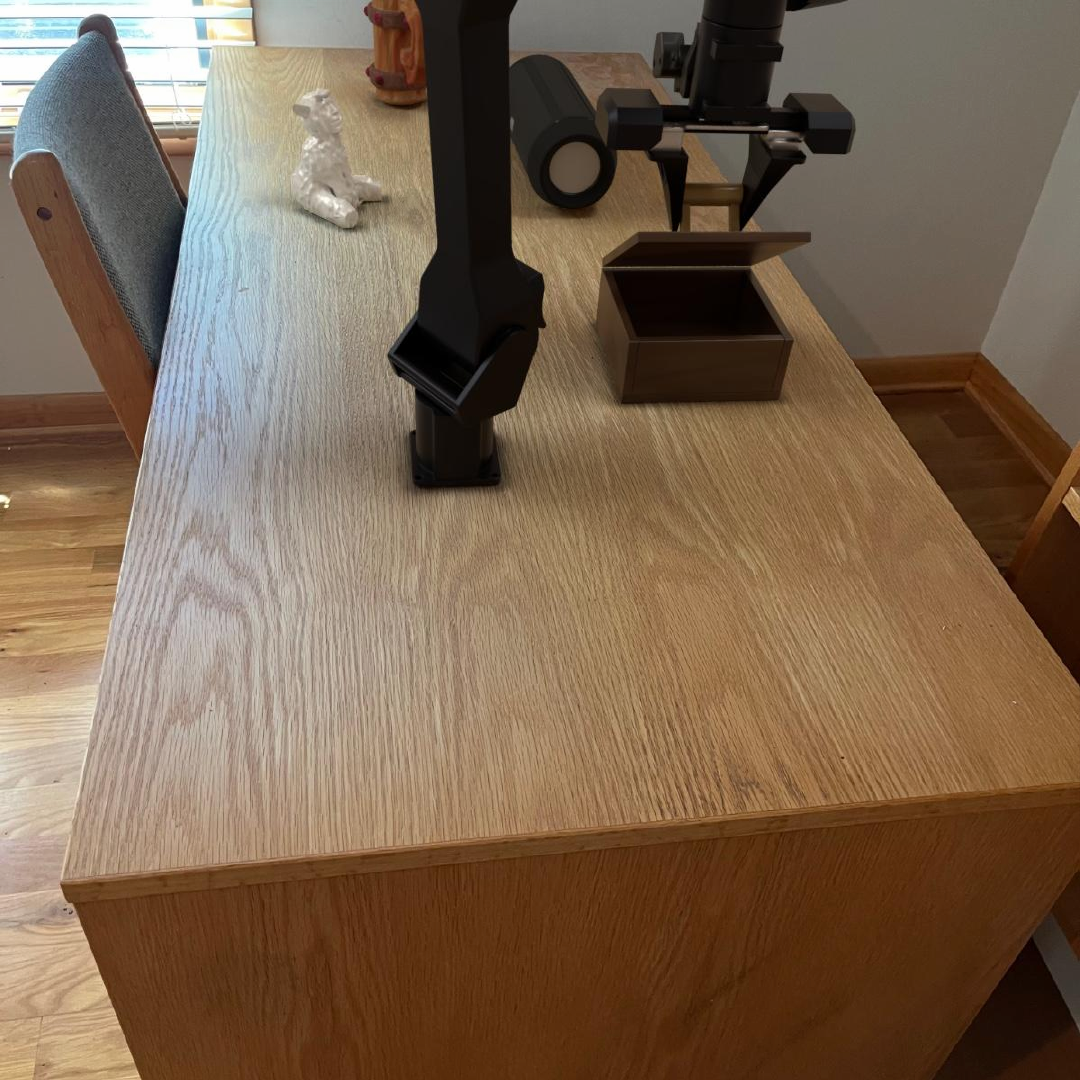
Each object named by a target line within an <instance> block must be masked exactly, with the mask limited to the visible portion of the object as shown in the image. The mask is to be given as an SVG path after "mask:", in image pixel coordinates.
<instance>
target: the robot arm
mask: <svg viewBox="0 0 1080 1080" xmlns="http://www.w3.org/2000/svg"><path fill="white" fill-rule="evenodd" d="M414 1H415V3H416V5H417V7H418V9H419V12H420V16H421V21H422V30H423V45H424V59H425V74H426V102H427V103H426V104H427V115H428V130H429V131H428V132H429V145H430V160H431V172H432V173H431V175H432V189H433V202H434V216H435V217H434V219H435V232H436V249H435V251H434V253H433V255H432V256H431V258H430V260H429V262H428V264H427V265H426V267H425V269H424V271H423V272H422V275H421V277H420V280H419V292H418V303H417V304H418V307H417V310H416V311H415V313H414V314H413V315H412V316H411V319H410V320H409V321H408V323H407V324H406V326H405V327H404V328H403V330H402V332H401V333H400V334H399V336H398V338H397V339H396V340H395V341H394V343H393V344H392V345H391V347H390V349H389V351H388V352H387V354H386V358H387V360H388V363H389V365H390V367H391V369H392V371H393V373H394V375H396V376H397V377H398V378H402V380H404V381H405V382H407V383H408V384H409V385H411V386H412V387H413V388H414V412H415V413H414V414H415V415H414V417H415V419H414V420H415V429H413V430H410V431H409V446H410V462H411V463H410V464H411V479H412V481H411V482H412V485H414V486H416V487H436V486H442V487H443V486H468V485H469V486H470V485H471V486H472V485H496V484H499V483H501V481H502V472H501V471H502V470H501V466H500V465H501V464H500V459H499V452H498V447H497V441H496V436H495V430H494V425H495V423H494V420H495V417H496V416H498V415H501V414H503V413H505V412H508V411H510V410H513V409H515V408H516V407H517V405H518V402H519V399H520V397H521V394H522V391H523V389H524V385H525V382H526V379H527V377H528V374H529V370H530V368H531V365H532V362H533V359H534V357H535V355H536V352H537V349H538V347H539V337H540V329H543V330H544V329H546V327H547V323H546V320H545V317H544V312H543V310H544V309H543V303H544V298H545V297H544V296H545V291H546V290H545V289H546V285H545V279H544V275H543V273H542V272H540V271H539V270H537V269H535V268H533V267H532V266H530V265H528V264H527V263H525V262H523V261H521V260H520V259H518V258H517V257H516V256H515V253H514V248H513V222H512V220H513V216H512V155H511V154H512V147H511V146H512V144H511V142H512V140H511V133H510V66H511V65H510V63H511V62H510V61H511V60H510V59H511V58H510V21H511V15H512V13H513V11H514V9H515V7H516V5H517V3H518V1H519V0H414ZM847 1H848V0H703V6H702V11H701V18H700V22H696V28H695V30H694V35H693V41H692V43H691V44H687V43H685V34H684V33H683V32H678V31H675V32H674V31H659V32H657V33H656V35H655V42H654V47H653V48H654V49H653V53H652V54H653V55H652V69H651V70H652V77H653V78H654V79H671V80H673V92H674V93H676V94H677V93H678V94H679V96H680V97H681V98H682V99H687V100H688V104H660V102H659V100H658V99H657V97H656V96H655V93H654V92H653V90H651V88H630V87H629V88H628V87H606V88H605V89H604V90H603V91H602V92H601V94H599V95H598V98H597V100H596V109H595V110H596V118H595V125H596V127H597V129H598V131H599V133H600V135H601V137H602V139H603V141H604V143H605V146H606V147H607V148H610V149H613V150H617V151H627V152H628V151H633V152H635V151H636V152H643V153H644V155H645V156H646V158H647V160H648V161H649V162H653V163H656V166H657V169H658V172H659V175H660V180H661V185H662V191H663V197H664V202H665V208H666V214H667V219H668V225H669V229H670V230H671V231H679V228H680V220H681V216H682V208H683V200H684V192H685V184H686V182H687V174H688V168H689V159H690V156H689V155H688V153H687V151H686V150H685V148H684V146H683V140H684V134H721V135H722V134H724V135H726V134H727V135H748V154H747V155H748V156H747V162H746V164H745V165H746V166H745V169H744V173H743V176H742V180H741V183H742V185H743V200H742V203H741V205H740V206H739V231H744V229H745V227H746V226H747V225H748V223H749V222H750V221H751V220H752V218H753V216H754V214H755V213H756V212H757V211H758V209H759V208H760V206H761V205H762V204H763V202H764V201H765V200H766V198H767V197H768V196H769V194H770V193H771V192H772V190H773V189H774V188H775V187H776V186H777V185H778V183H780V182H781V180H782V179H783V178H784V177H785V176H786V174H787V173H788V172H789V171H790V170H791V169H792V168H793V167H795V166H796V165H798V166H799V165H805V163H806V161H807V157H808V156H807V154H805V152H804V151H803V150H802V145H803V143H804V144H805V145H806V146H807V148H808V149H809V151H810V152H811V154H812V155H848V154H849V153H851V150H852V146H853V143H854V139H855V135H856V131H857V128H856V118H854V115H853V113H852V112H851V111H850V110H849V109H847V107H845V105H843V103H841V102H840V101H839V100H838V98H836V96H834V95H833V94H832V93H822V92H821V93H818V92H789V93H788V94H787V95H786V97H785V98H784V99H783V101H782V106H781V107H777V106H771V105H770V104H769V103H768V100H769V95H770V90H771V85H772V80H773V75H774V70H775V67H776V66H775V65H776V63H782V58H783V53H784V49H785V46H784V45H783V44H782V43H781V42H780V40H781V35H782V31H783V25H784V20H785V14H786V12H798V11H804V10H809V9H815V8H821V7H825V6H830V5H831V6H832V5H836V4H837V5H838V4H841V3H844V2H847Z"/></svg>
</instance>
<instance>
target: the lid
mask: <svg viewBox="0 0 1080 1080" xmlns="http://www.w3.org/2000/svg"><path fill="white" fill-rule="evenodd" d="M742 200H743V185H742V182H732V181H731V182H726V181H725V182H719V181H717V182H715V181H713V182H709V181H708V182H707V181H704V182H703V181H701V182H700V181H698V182H697V181H686V184H685V192H684V200H683V208H682V216H681V220H680V224H679V230H678V231H672V230H671V231H636V232H635V233H634V234H632V236H629V238H627V239H626V240H625V241H623V242H622V243H621V244H619V245H618V246H617V247H615V248H614V249H612V250H611V251H610V252H608V253H607V254H606V255H605V256H603V257H601V268H640V267H752V266H753V267H754V266H755V265H758V264H760V263H763V262H766V261H768V260H770V259H772V258H775V257H778V256H780V255H782V254H784V253H787V252H790V251H792V250H794V249H797V248H799V247H801V246H804V245H806V244H809V243H811V241H812V231H809V230H808V231H807V230H805V231H800V230H798V231H795V230H794V231H793V230H790V231H788V230H786V231H783V230H782V231H781V230H779V231H777V230H776V231H773V230H772V231H769V230H768V231H767V230H766V231H759V230H758V231H757V230H756V231H755V230H754V231H752V230H751V231H750V230H749V231H746V230H745V231H744V230H742V231H739V206H740V205H741V203H742ZM691 207H728V214H727V215H728V230H726V231H724V230H723V231H717V230H716V231H715V230H713V231H710V230H709V231H701V230H700V231H693V230H692V231H691Z"/></svg>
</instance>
